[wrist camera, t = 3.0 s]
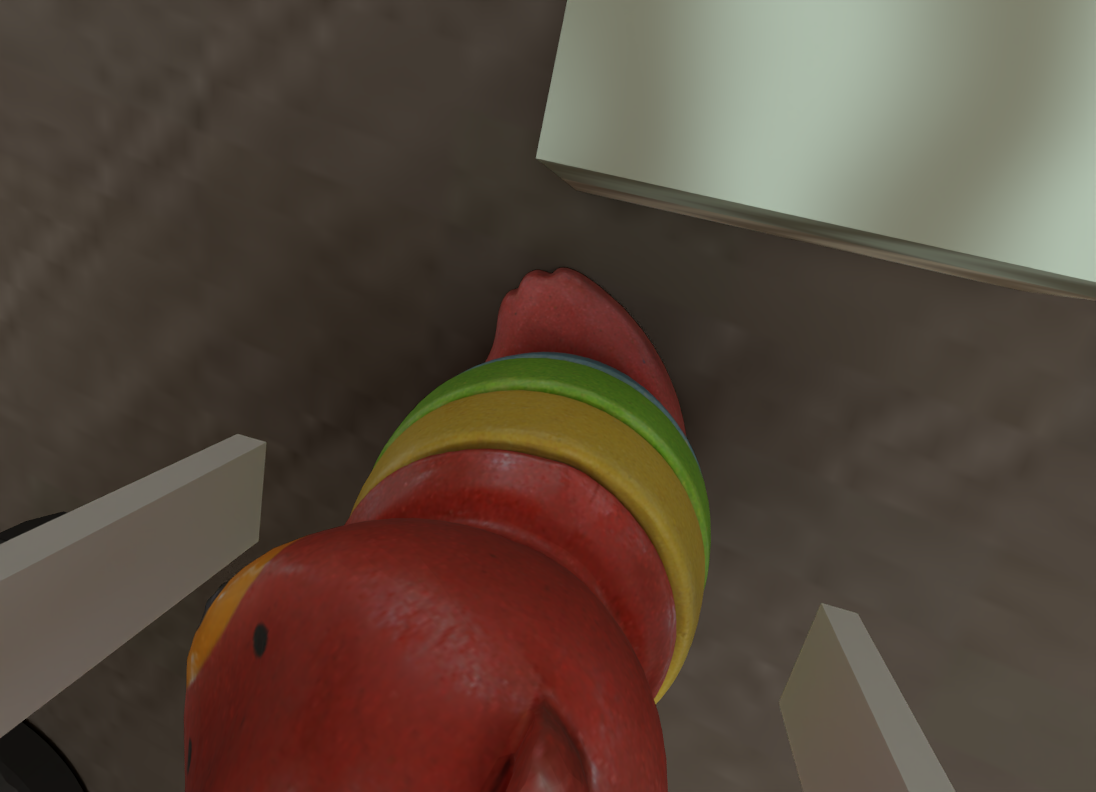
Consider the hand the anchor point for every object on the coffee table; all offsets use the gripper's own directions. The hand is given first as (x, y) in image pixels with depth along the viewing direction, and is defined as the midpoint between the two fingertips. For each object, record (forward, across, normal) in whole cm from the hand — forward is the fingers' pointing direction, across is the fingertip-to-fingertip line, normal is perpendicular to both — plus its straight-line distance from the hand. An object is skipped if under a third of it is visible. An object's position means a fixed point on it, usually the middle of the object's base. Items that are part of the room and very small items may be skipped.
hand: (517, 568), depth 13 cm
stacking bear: (+10, 0, 0) cm, 10 cm away
